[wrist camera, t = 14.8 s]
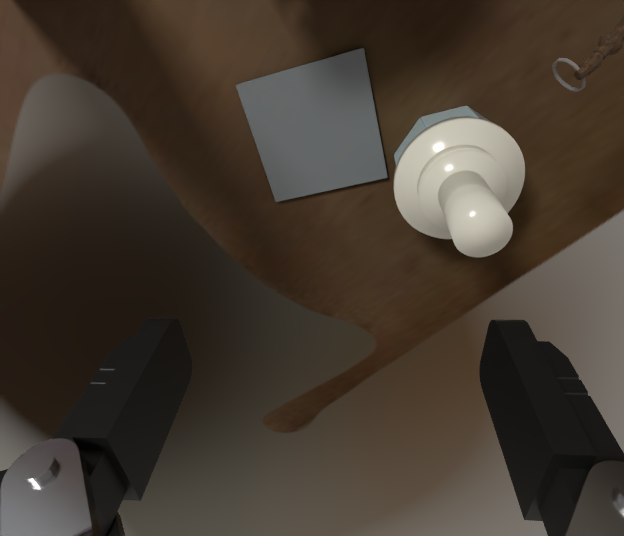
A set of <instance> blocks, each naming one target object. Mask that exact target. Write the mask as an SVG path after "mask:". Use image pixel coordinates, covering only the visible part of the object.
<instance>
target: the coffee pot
mask: <svg viewBox="0 0 624 536" xmlns="http://www.w3.org/2000/svg"><path fill="white" fill-rule="evenodd" d="M622 41H624V17H623V18H622V19H621V21H620V22H619V23H618V25H617V26H616V27H615V29H614V30H613V31H612V33H607V34H605V35H603V36H601V37H600V39H599V41H598V48H597V49H596V50H595V51H594V52H593V53H591V54H589V55H588V56H586V58H585V59H584V60H583V62H582V63H581V64H580V66H579V67H578V66H577V65H576V64H575V63H574V62H572V61H571V60H569V59H568V58H559V59H558V60H556V61H555V62H554V63H553V73H554V75H555V78H556V79H557V80H558V81H559V82H560V84H561V85H562V86H564V87H565V88H567V89H569V90H570V91H577V92H578V91H580V90H581V89H583V88H584V87H585V84H586V79H585V77H586V76H588V75H590V74H591V73H592V72H594V71H595V70H596V69H597V68H598V67H599V66H600V65H601V63H602V61H603V60H604V59H605V58H606V57H607V56H608V55H612V54H615V53H618V52H619V51H620V49H621V48H622V43H623V42H622ZM557 62H566V63H568V64H569V65H571V66H572V67H573V68H574V69H575V70H576V72H575V73H574V76H575V78H576V79H578V80H582V87H580V88H574V87H571V86H570V85H568V84H566V83H565V82H564V81H563V80H562V79H561V78H560V77H559V75H558V72H557V70H556V63H557Z"/></svg>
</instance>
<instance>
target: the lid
mask: <svg viewBox="0 0 624 536" xmlns="http://www.w3.org/2000/svg"><path fill="white" fill-rule="evenodd" d="M524 179H525V164H524V159H523V155H522V152H521V150H520V148H519V146H518V144H517V143H516V141H515V140H514V139H513V138H512V137H511V136H510V135H509V134H508V133H507V132H506V131H505V130H504V129H503V128H501V127H500V126H499V125H497V124H495V123H493V122H491V121H489V120H486V119H483V118H478V117H469V116H463V117H454V118H449V119H446V120H442V121H440V122H437V123H435V124H433V125H431V126H429V127H428V128H426V129H424V130H423V131H422V132H420V133H419V134H418V135H417V136H416V137H415V138H414V139H413V140H412V141H411V142H410V143H409V144H408V145H407V147H406V148H405V149H404V151H403V152H402V154H401V156H400V158H399V160H398V162H397V165H396V169H395V173H394V185H393V186H394V194H395V199H396V203H397V206H398V208H399V211H400V212H401V214H402V216H403V217H404V218H405V220H406V221H407V222H408V223H409V224H410V225H411V226H412V227H414V228H415V229H417V230H418V231H420V232H422V233H424V234H426V235H429V236H432V237H436V238H441V239H453V242H454V245H455V246H456V248H457V249H458V250H459V251H460V252H461V253H463V254H465V255H467V256H471V257H486V256H489V255H492V254H494V253H496V252H498V251H500V250H501V249H502V248H503V247H504V246H505V245H506V244H507V243H508V242H509V240H510V238H511V236H512V232H513V224H512V221H511V219H510V217H509V215H508V214H507V213H508V212H509V211H510V210H511V209H512V207H513V206H514V204H515V203H516V201H517V199H518V197H519V195H520V193H521V190H522V187H523V184H524Z"/></svg>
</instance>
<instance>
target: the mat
mask: <svg viewBox="0 0 624 536" xmlns="http://www.w3.org/2000/svg"><path fill="white" fill-rule="evenodd" d="M236 87H237V90H238V93H239V96H240V99H241V102H242V105H243V108H244V111H245V114H246V117H247V120H248V122H249V125H250V128H251V131H252V134H253V137H254V140H255V143H256V146H257V149H258V152H259V155H260V157H261V160H262V163H263V166H264V169H265V172H266V175H267V178H268V181H269V184H270V187H271V190H272V193H273V195H274V198H275V201H276V202H278V201H283V200H287V199H292V198H297V197H301V196H306V195H310V194H315V193H320V192H324V191H329V190H333V189H338V188H342V187H347V186H352V185H356V184H361V183H365V182H370V181H375V180H379V179H384V178H388V176H387V171H386V165H385V160H384V155H383V149H382V144H381V138H380V133H379V128H378V122H377V117H376V111H375V106H374V101H373V95H372V90H371V84H370V79H369V74H368V68H367V63H366V57H365V52H364V47H363V48H360V49H356V50H353V51H349V52H346V53H342V54H339V55H336V56H332V57H329V58H325V59H322V60H319V61H315V62H312V63H308V64H305V65H302V66H298V67H295V68H291V69H288V70H285V71H281V72H278V73H274V74H271V75H268V76H264V77H261V78H257V79H254V80H251V81H247V82H244V83H240V84H237V85H236Z"/></svg>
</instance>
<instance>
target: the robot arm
mask: <svg viewBox="0 0 624 536" xmlns="http://www.w3.org/2000/svg"><path fill="white" fill-rule="evenodd" d="M192 369H193V367H192V358H191V355H190V351H189V348H188V345H187V342H186V338H185V335H184V332H183V329H182V325H181V323H180V321H179V320H178V319H177V318H148V319H147V320H145V322H144V323H143V325H142V326H141V328H140V329H139V331H138V333H137V334H136V336H135V337H128V338H126V339H125V340H124V341H123V342H121V343H120V344H119V345H118V346H117V347H115V348H114V349H113V350H112V351H111V352H110V353H109V355H108V356H107V358H106V359H105V361H104V362H103V364H102V365H101V367H100V371H97V373H96V374H95V376H94V377H93V379H92V380H91V384H90V385H88V386H87V388H86V389H85V391H84V392H83V394H82V395H81V397H80V398H79V399H78V401H77V403H76V404H75V405H74V407H73V408H72V410H71V411H70V413H69V414H68V416H67V417H66V419H65V420H64V422H63V423H62V425H61V426H60V428H59V429H58V431H57V432H56V434H55V435H54V437H53V438H52V439H51V440H47V441H45V442H42V443H39V444H37V445H35V446H33V447H32V448H30V449H29V450H27V451H26V452H25V453H23V454H22V455H21V456H20V457H19V458H17V459H16V461H14V463H13V464H12V465H11V466H10V467H9V469H7V470H3V471H0V536H125V532H124V528H123V524H122V519H121V516H120V514H119V513H118V509H119V506H120V504H121V502H122V500H139V501H140V500H141V498H142V496H143V493H144V491H145V489H146V486H147V484H148V482H149V479H150V477H151V474H152V472H153V469H154V467H155V465H156V462H157V460H158V458H159V455H160V453H161V450H162V448H163V445H164V443H165V441H166V438H167V436H168V434H169V431H170V429H171V426H172V424H173V422H174V419H175V417H176V414H177V412H178V410H179V407H180V405H181V402H182V400H183V398H184V395H185V393H186V390H187V388H188V386H189V383H190V380H191V376H192ZM578 377H579V376H578V374H577V373H576V371H575V369H574V367H573V366H572V364H571V362H570V361H569V359H568V357H566V356H565V355H564V354H563V353H562V352H561V351H560V350H558V349H557V348H556V347H555V346H554V345H553V344H551V343H550V342H542V341H541V342H540V341H537V340H536V338H535V336H534V334H533V332H532V330H531V328H530V326H529V325H528V323H527V322H526V321H525V320H491V321H490V323H489V326H488V331H487V335H486V339H485V343H484V348H483V352H482V357H481V361H480V382H481V387H482V390H483V393H484V396H485V400H486V402H487V406H488V409H489V412H490V415H491V418H492V421H493V424H494V427H495V431H496V434H497V437H498V440H499V443H500V446H501V449H502V452H503V455H504V459H505V462H506V465H507V468H508V471H509V474H510V477H511V480H512V483H513V486H514V489H515V492H516V496H517V499H518V502H519V505H520V508H521V511H522V514H523V517H524V520H536V521H543V523H544V526H545V528H546V531H547V534H548V536H624V453H623V451H622V450H621V448H620V446H619V445H618V443H617V441H616V439H615V438H614V436H613V435H612V433H611V431H610V429H609V428H608V426H607V424H606V422H605V421H604V419H603V417H602V415H601V414H600V412H599V410H598V409H597V407H596V405H595V404H594V402H593V400H592V399H591V397H590V396H588V391H587V390H586V388H585V386H584V385H583V383H582V381H581V380H579V378H578Z"/></svg>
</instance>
